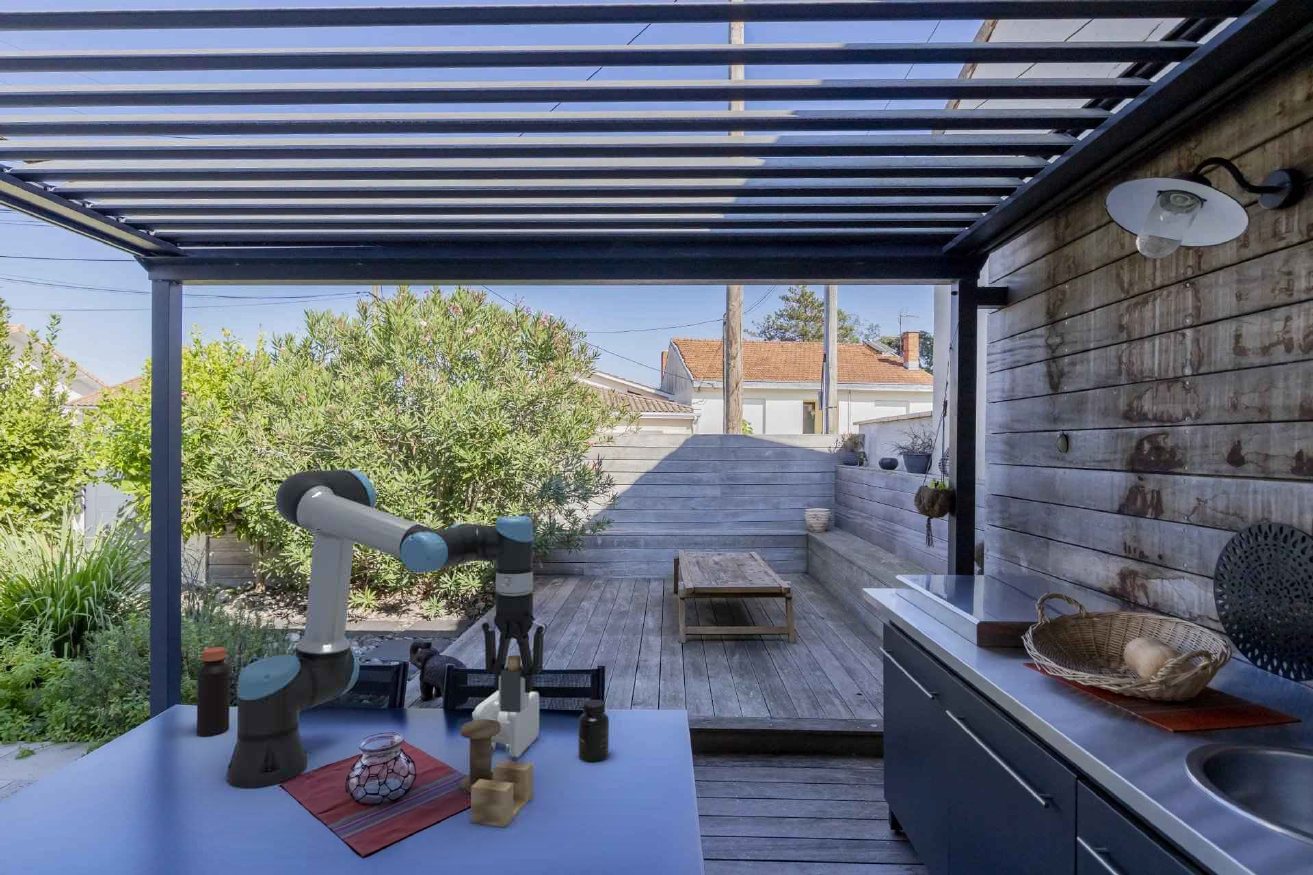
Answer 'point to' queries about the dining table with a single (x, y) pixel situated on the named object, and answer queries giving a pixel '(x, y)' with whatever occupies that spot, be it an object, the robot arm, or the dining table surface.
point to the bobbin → (479, 750)
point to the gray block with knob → (511, 685)
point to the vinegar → (213, 693)
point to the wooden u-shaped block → (502, 793)
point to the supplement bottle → (593, 732)
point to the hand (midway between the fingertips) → (513, 706)
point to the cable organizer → (511, 723)
